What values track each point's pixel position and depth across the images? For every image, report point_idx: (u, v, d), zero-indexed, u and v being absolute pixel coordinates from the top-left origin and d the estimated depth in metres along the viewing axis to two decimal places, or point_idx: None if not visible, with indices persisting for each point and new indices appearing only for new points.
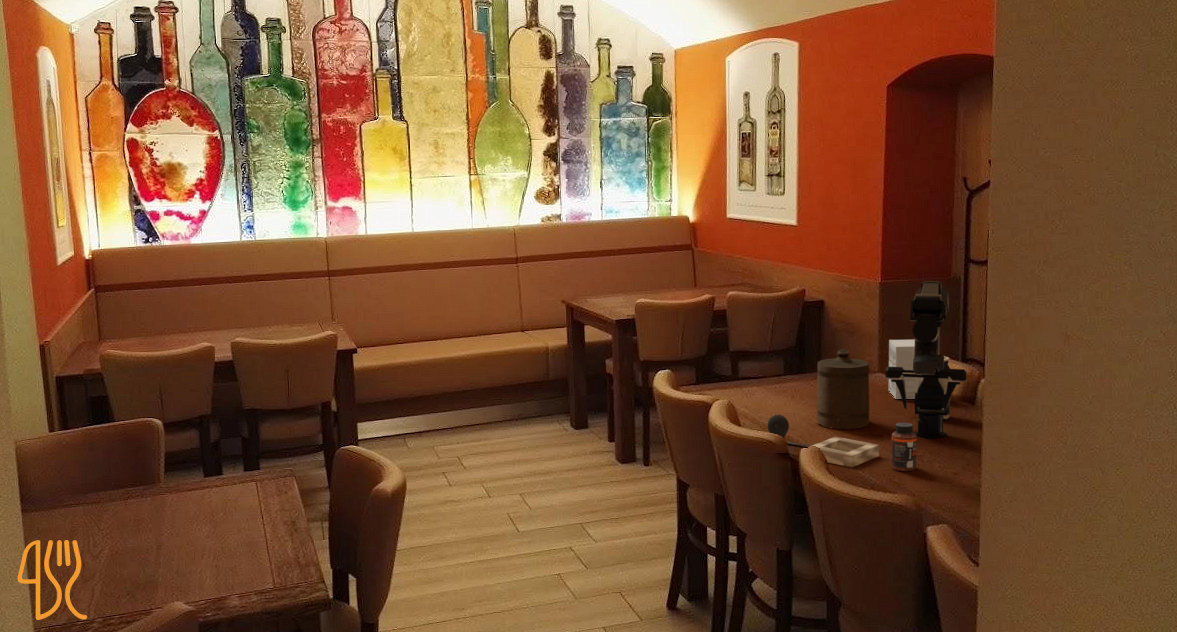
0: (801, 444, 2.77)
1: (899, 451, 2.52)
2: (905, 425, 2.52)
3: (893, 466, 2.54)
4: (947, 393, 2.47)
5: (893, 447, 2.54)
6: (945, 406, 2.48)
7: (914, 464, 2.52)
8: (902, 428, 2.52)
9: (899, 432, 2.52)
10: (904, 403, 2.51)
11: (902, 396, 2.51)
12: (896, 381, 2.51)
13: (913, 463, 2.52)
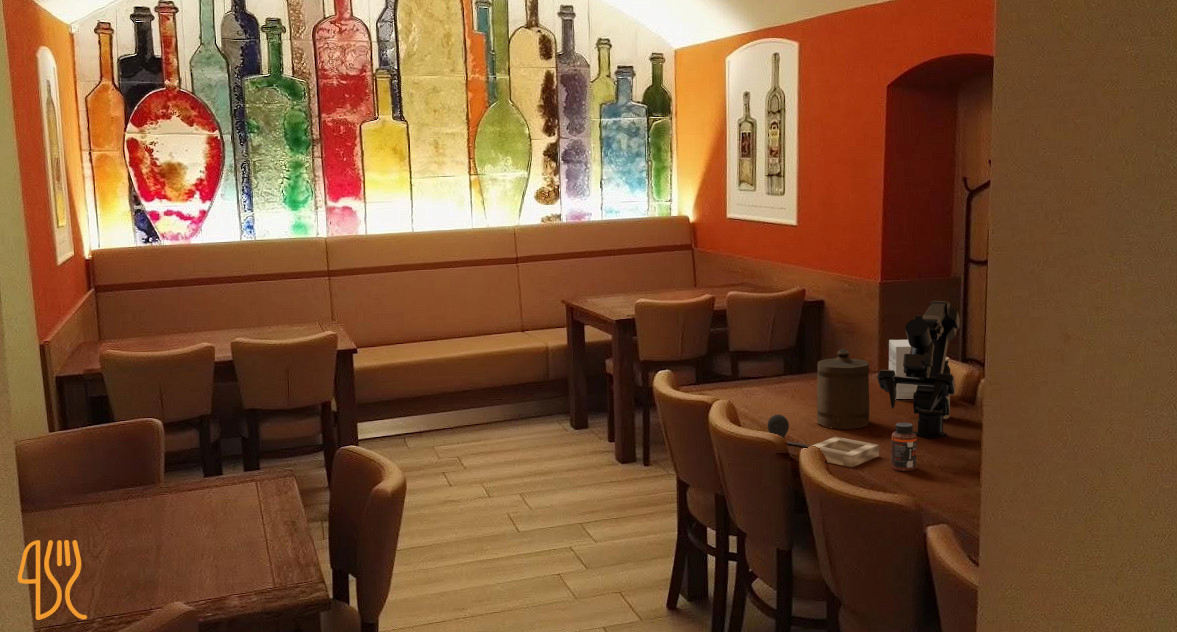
0: (801, 444, 2.77)
1: (899, 451, 2.52)
2: (905, 425, 2.52)
3: (893, 466, 2.54)
4: (933, 394, 2.58)
5: (893, 447, 2.54)
6: (930, 406, 2.57)
7: (914, 464, 2.52)
8: (902, 428, 2.52)
9: (899, 432, 2.52)
10: (892, 402, 2.62)
11: (890, 395, 2.63)
12: (886, 380, 2.64)
13: (913, 463, 2.52)
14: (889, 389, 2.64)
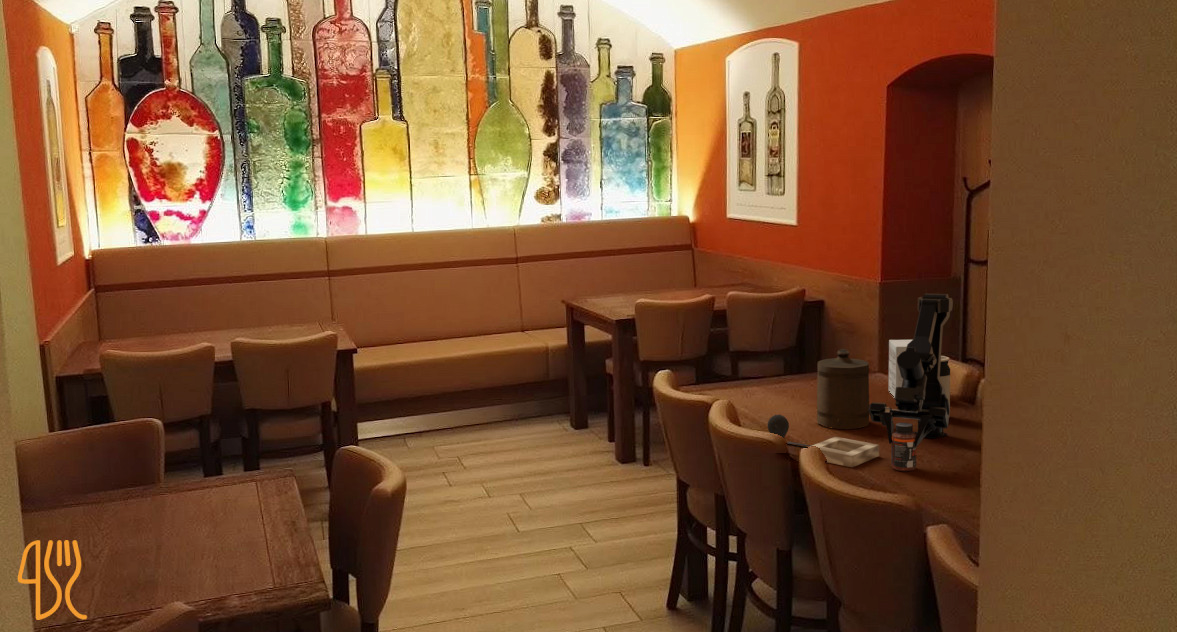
0: (801, 444, 2.77)
1: (899, 451, 2.52)
2: (905, 425, 2.52)
3: (893, 466, 2.54)
4: (919, 428, 2.52)
5: (893, 447, 2.54)
6: (916, 440, 2.51)
7: (914, 464, 2.52)
8: (902, 428, 2.52)
9: (899, 432, 2.52)
10: (889, 436, 2.54)
11: (888, 430, 2.55)
12: (883, 414, 2.57)
13: (913, 463, 2.52)
14: (886, 423, 2.56)
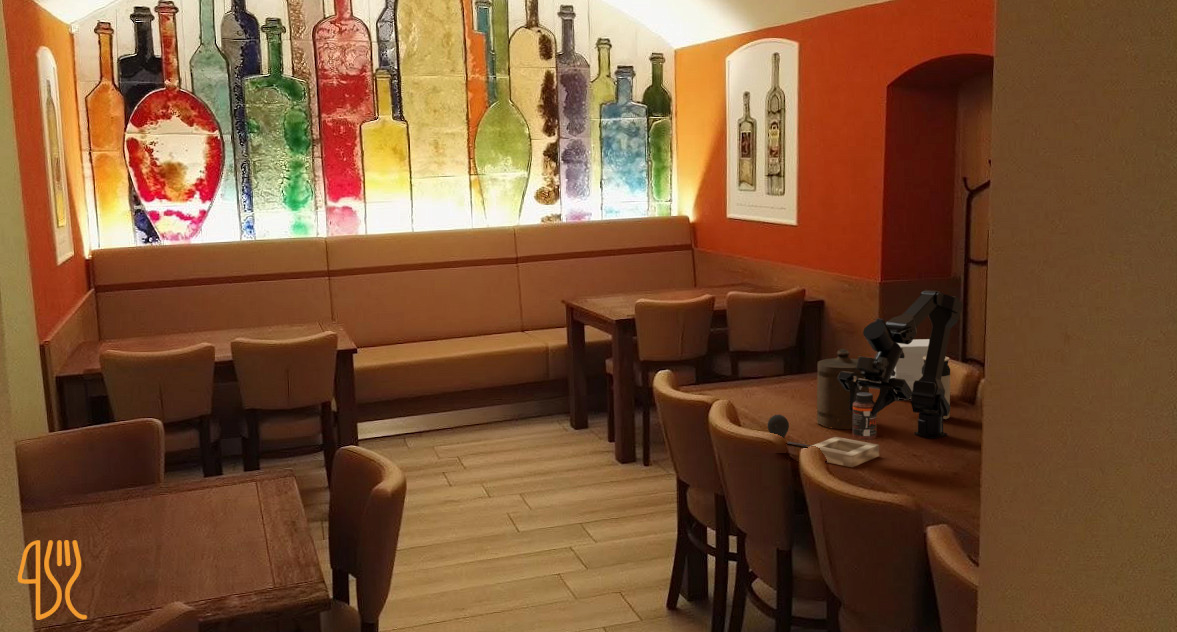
0: (801, 444, 2.77)
1: (856, 419, 2.58)
2: (864, 394, 2.58)
3: None
4: (878, 398, 2.57)
5: (852, 415, 2.60)
6: (873, 409, 2.56)
7: (872, 433, 2.57)
8: (860, 397, 2.57)
9: (858, 401, 2.58)
10: (850, 404, 2.61)
11: (851, 398, 2.62)
12: (849, 382, 2.63)
13: (870, 432, 2.57)
14: (851, 392, 2.63)
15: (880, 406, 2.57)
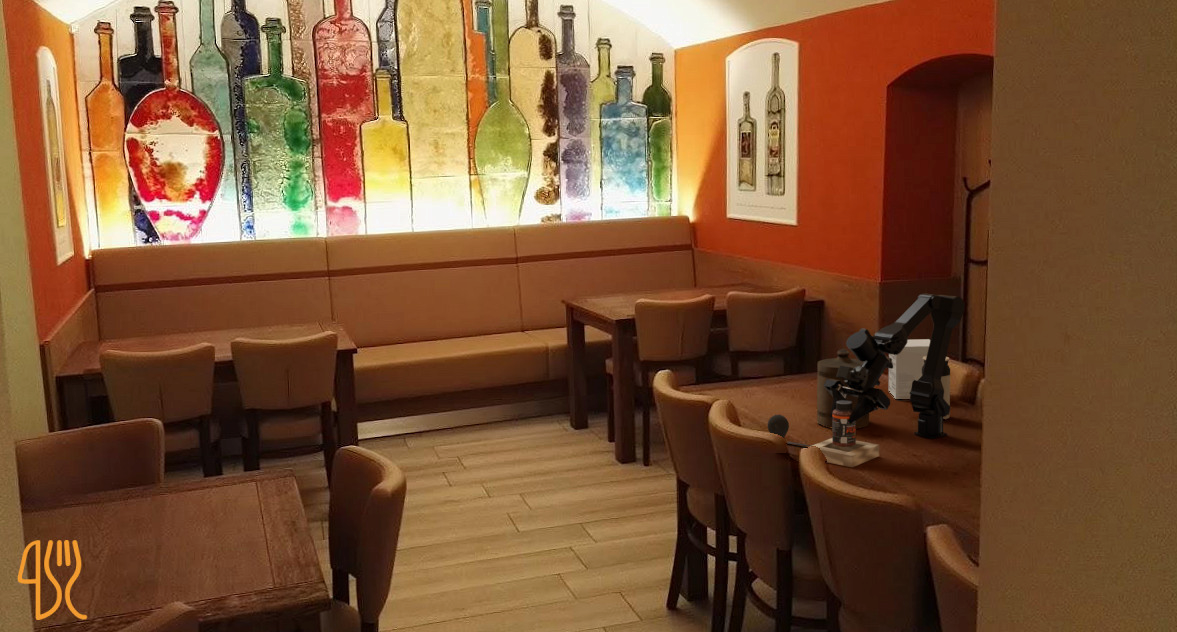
0: (801, 444, 2.77)
1: (834, 426, 2.64)
2: (843, 402, 2.63)
3: (832, 440, 2.66)
4: (856, 406, 2.62)
5: (832, 422, 2.66)
6: (850, 417, 2.61)
7: (849, 441, 2.63)
8: (839, 405, 2.63)
9: (836, 409, 2.64)
10: (831, 412, 2.67)
11: (832, 405, 2.68)
12: (832, 390, 2.69)
13: (847, 439, 2.63)
14: (833, 399, 2.69)
15: (858, 415, 2.62)
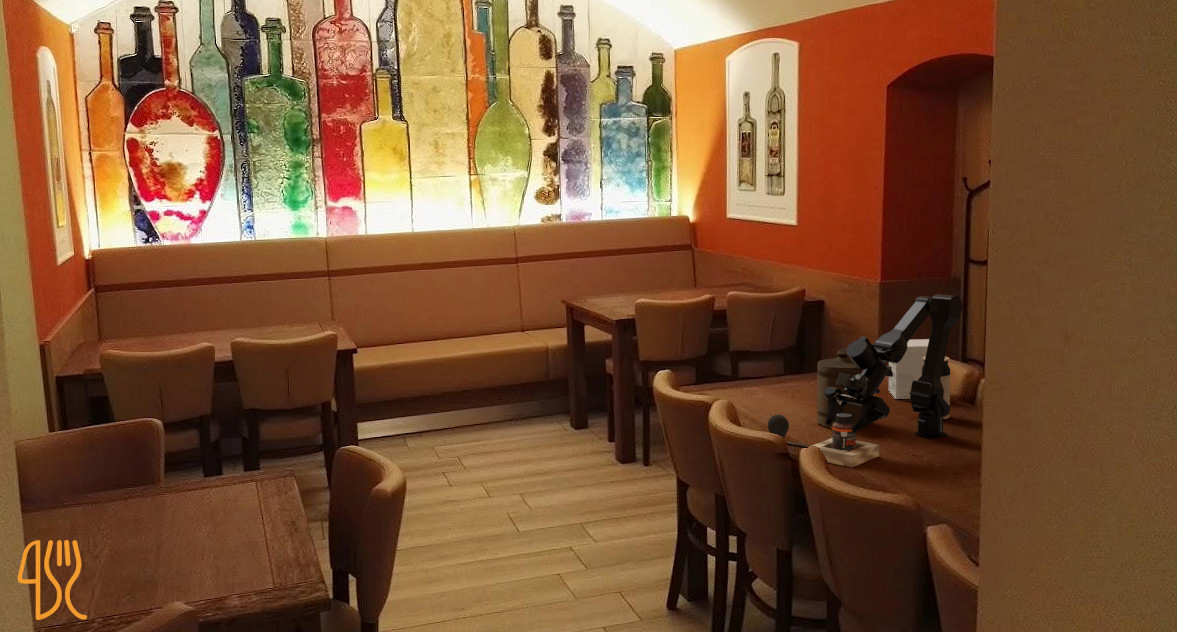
0: (801, 444, 2.77)
1: (834, 439, 2.64)
2: (843, 415, 2.64)
3: None
4: (860, 415, 2.61)
5: None
6: (853, 426, 2.60)
7: None
8: (839, 418, 2.64)
9: (837, 421, 2.65)
10: (827, 418, 2.68)
11: (828, 412, 2.69)
12: (828, 397, 2.70)
13: None
14: (829, 406, 2.70)
15: (861, 424, 2.61)
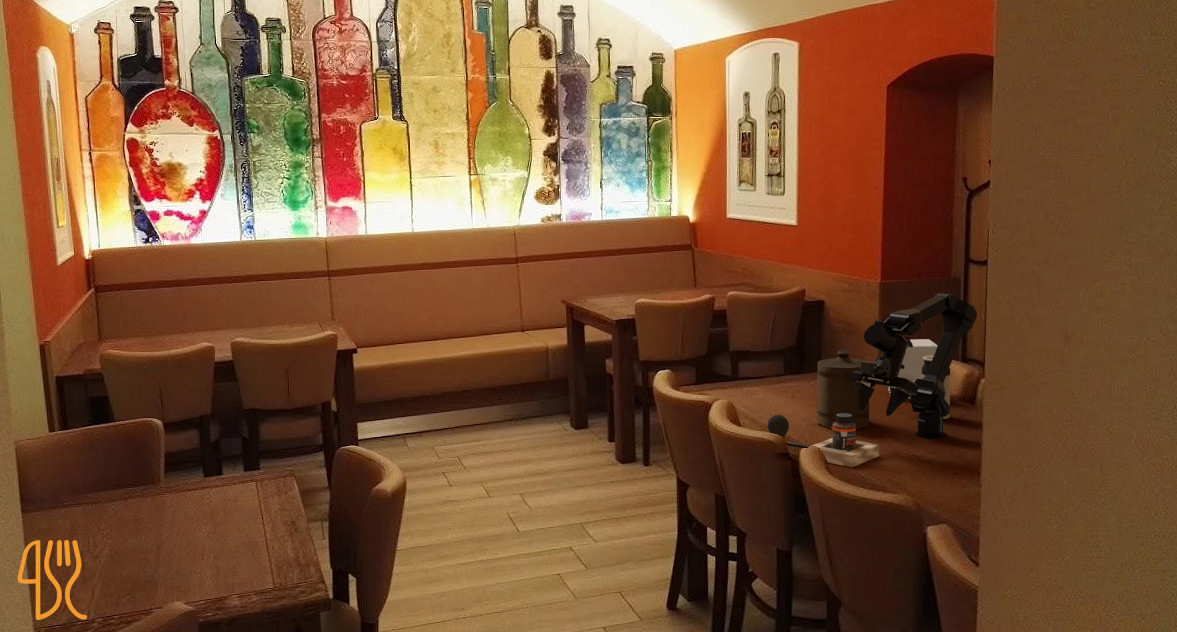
0: (801, 444, 2.77)
1: (834, 439, 2.64)
2: (843, 415, 2.64)
3: None
4: (890, 399, 2.64)
5: None
6: (887, 411, 2.65)
7: None
8: (839, 418, 2.64)
9: (837, 421, 2.65)
10: (860, 405, 2.73)
11: (859, 398, 2.73)
12: (856, 383, 2.74)
13: None
14: (859, 391, 2.74)
15: (894, 406, 2.65)
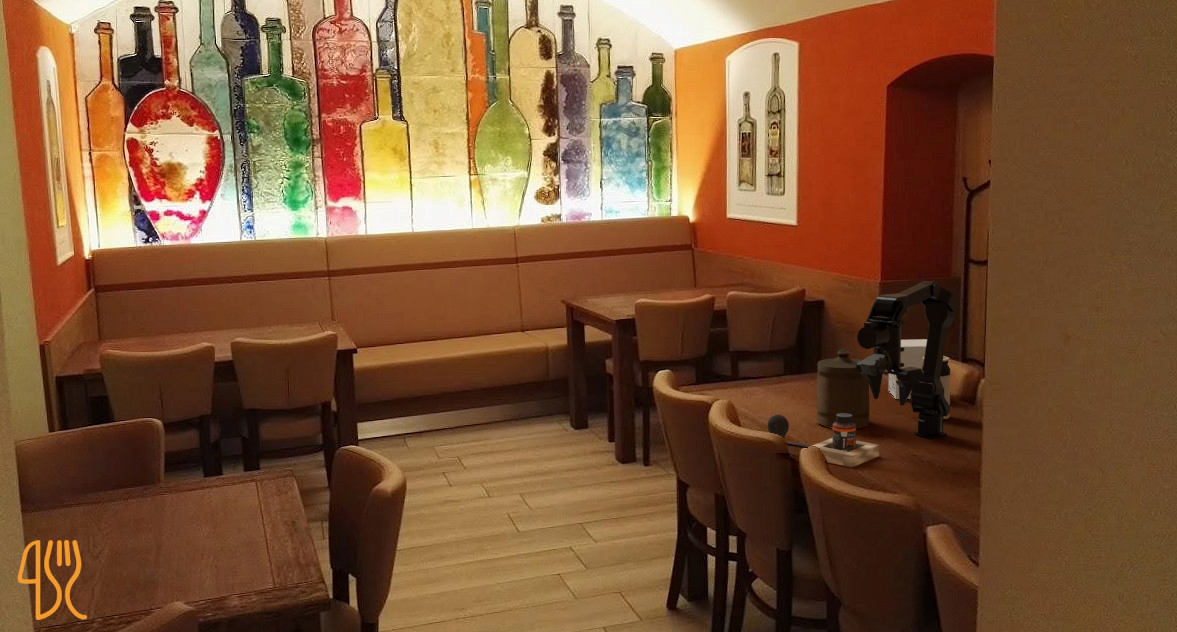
0: (801, 444, 2.77)
1: (834, 439, 2.64)
2: (843, 415, 2.64)
3: None
4: (899, 390, 2.64)
5: None
6: (900, 402, 2.65)
7: None
8: (839, 418, 2.64)
9: (837, 421, 2.65)
10: (873, 394, 2.73)
11: (871, 388, 2.73)
12: (863, 375, 2.73)
13: None
14: (868, 381, 2.73)
15: (905, 395, 2.64)
